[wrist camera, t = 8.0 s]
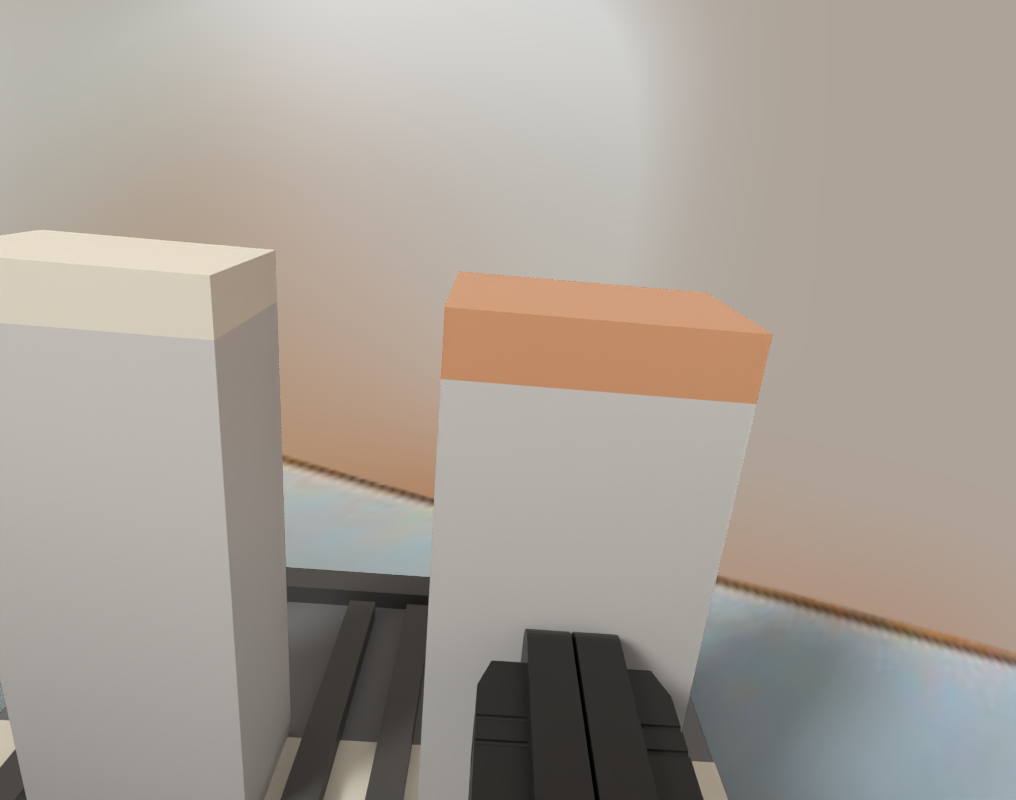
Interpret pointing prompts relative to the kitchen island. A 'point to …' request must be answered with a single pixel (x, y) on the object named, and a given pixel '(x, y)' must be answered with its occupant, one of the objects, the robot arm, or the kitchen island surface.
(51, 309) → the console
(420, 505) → the kitchen island surface
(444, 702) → the fader tab
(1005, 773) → the kitchen island surface
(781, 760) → the kitchen island surface
